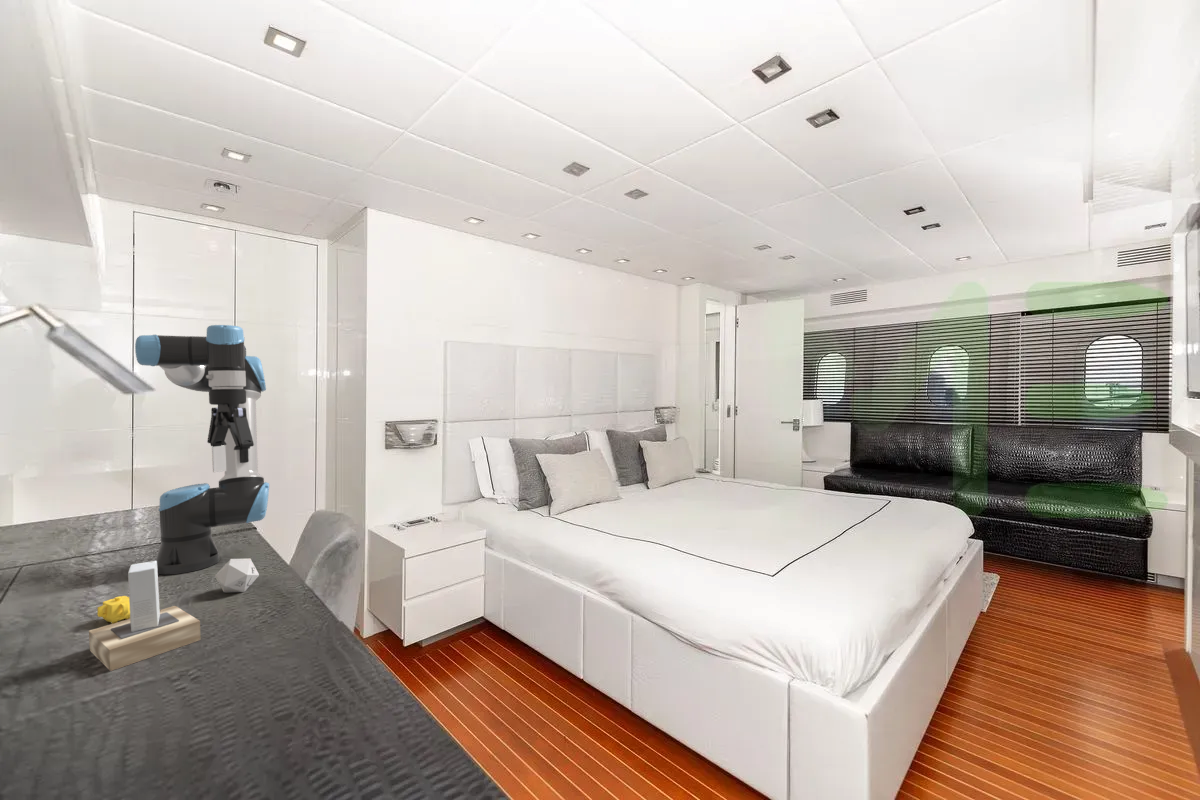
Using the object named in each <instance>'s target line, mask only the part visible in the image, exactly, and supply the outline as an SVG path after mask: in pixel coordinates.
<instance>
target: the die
mask: <svg viewBox="0 0 1200 800" xmlns="http://www.w3.org/2000/svg"><path fill="white" fill-rule="evenodd" d="M259 576H260V574H259V572H258V570H257V568H256V566H255V564H254V563H253V561H252V559H251V558H230V559H229V560H228V561H227V562H226V563H225V564H224V565H223V566H222V567H221V568H220V570H218V571H217V573H215V574H214V577H215V579H216V581H217V583H218V584H219V587H220V588H221V589H222V591H223V593H245V592H247V590H248V588H249V587H251V585H252V584H253V583H254V582H255V581H256V579H258V577H259Z"/></svg>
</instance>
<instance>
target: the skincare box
mask: <svg viewBox="0 0 1200 800" xmlns="http://www.w3.org/2000/svg"><path fill="white" fill-rule="evenodd" d="M158 575H159V574H158V571H157V561H155V560H152V561H145V562H140V563H133V564H130V567H129V568H128V573H127V578H128V579H127V580H128V597H129V602H130V620H131V632H135V631H139V630H143V629H147V628H152V627H156V626H158V623H159V617H160V610H161V609H160V594H159V592H160V591H159V577H158Z"/></svg>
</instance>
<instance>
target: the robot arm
mask: <svg viewBox="0 0 1200 800" xmlns="http://www.w3.org/2000/svg"><path fill="white" fill-rule="evenodd" d="M134 347H135V348H134V349H135V350H134V351H135V357H136V358H135V359H136V361H137V363H138V364H139V365H141V366H150V367H155V366H156V367H157V366H158V367H160V368H161V369H162V370H163V371H164V374H165V376H166V378H167V379H168V380H169V381H170V382H171V383H172V384H174V385H176V386H179V387H180V388H184V389H187V390H190V391H194V392H195V391H196V392H203V393H204V392H206V393H208V403H209V405H213V406H217V407H212V408H211V409H210V411H211V415H210V416H211V417H210V421H209V422H210V423H209V429H208V430H209V431H208V435H207V443H208V444H210V447H211V457H212V458H211V461H212V473H220V472H224V476H222V477H221V478H220V479H219V480H218V487H211V486H210V485H209V483H207V482H205V483H204V482H203V483H196V484H191V485H185V486H181V487H177V488H173V489H170V490H168V491H166V492H164V493H162V494H161V495H160V497H159V504H158V506H159V508H158V511H159V525H160V527H159V528H160V529H159V530H160V546H159V549H158V551H157V554H156V558H155V559H154V561H157V571H158V575H178V574H184V573H189V572H195V571H198V570H202V569H203V570H204V569H206V568H209V567H211V566H213V565H215V564H218V563H219V561H220V552H219V550H218V547H217V545H216V543H215V541H214V539H213V537H212V536H213V535H212V528H216V527H223V526H224V527H225V526H231V525H239V524H249V523H252V522H253V523H254V522H260V521H262V520H264V519H265V517H266V514H267V509H268V503H269V502H268V501H269V492H270V482H266V481H265V477H264V476H263V475H262V474H260V473H259V469H258V468H259V467H258V465H259V463H258V462H259V460H258V459H259V458H258V433H257V432H258V430H257V429H258V428H257V427H258V426H257V403H256V402H257V400H258V399H260V398H261V397H262V392H266V390H267V387H266V380H265V375H264V374H265V373H264V369H263V364H262V360H261V359H260V358H259V357H257V356H254V355H252V356H251V355H247V349H246V346H245V335H244V329H243V327H241V326H238V325H230V324H212V325H209V326H207V327H206V336H198V335H197V336H193V335H192V336H189V335H186V336H185V335H162V334H161V335H160V334H159V335H157V334H147V335H145V334H144V335H139V336H137V337H136V339H135V344H134Z"/></svg>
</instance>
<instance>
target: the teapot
mask: <svg viewBox="0 0 1200 800" xmlns="http://www.w3.org/2000/svg"><path fill="white" fill-rule="evenodd" d="M96 613H97V617H98V618H102V620H105V621H106V622H107V623H110V624H114V623H117V622H120V621H123V620H124V619H125V620H127V619H130V602H129V596H127V595H122V596H119V595H118V596H116V597H114V598H111V599H108V600H104V601H102V605H100V606H97V612H96Z"/></svg>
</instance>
